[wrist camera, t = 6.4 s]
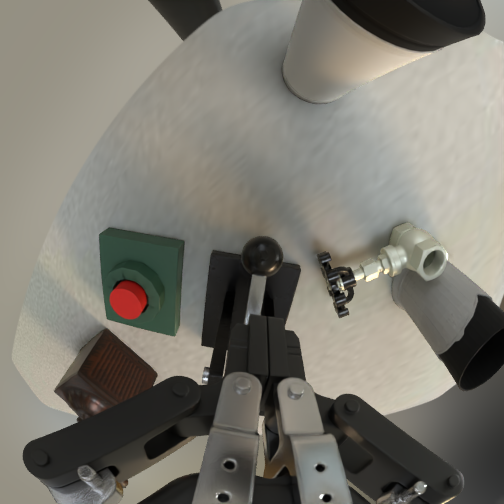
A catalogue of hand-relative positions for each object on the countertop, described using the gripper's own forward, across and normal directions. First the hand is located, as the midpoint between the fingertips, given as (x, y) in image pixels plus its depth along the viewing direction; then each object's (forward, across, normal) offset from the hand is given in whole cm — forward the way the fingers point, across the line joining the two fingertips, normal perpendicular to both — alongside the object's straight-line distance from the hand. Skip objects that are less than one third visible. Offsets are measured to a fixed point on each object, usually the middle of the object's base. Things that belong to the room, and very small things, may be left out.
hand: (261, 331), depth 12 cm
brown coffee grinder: (+16, +16, +26) cm, 34 cm away
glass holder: (+16, -23, +3) cm, 28 cm away
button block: (+16, +12, +8) cm, 21 cm away
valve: (+16, -12, 0) cm, 20 cm away
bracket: (+16, 0, +9) cm, 18 cm away
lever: (+8, 0, +6) cm, 10 cm away
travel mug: (+16, -2, -16) cm, 23 cm away
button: (+12, +12, +8) cm, 19 cm away
